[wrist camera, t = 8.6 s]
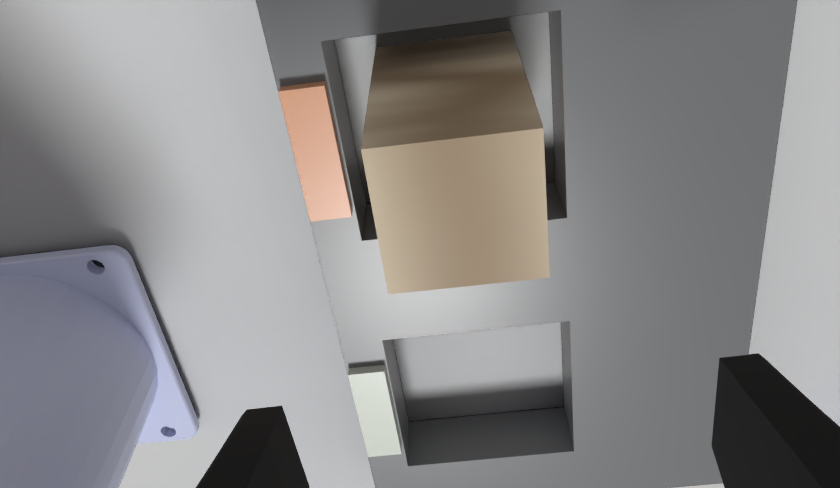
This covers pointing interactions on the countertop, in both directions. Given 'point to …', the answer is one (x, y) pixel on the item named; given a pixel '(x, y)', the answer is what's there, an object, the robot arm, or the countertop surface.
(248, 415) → the robot arm
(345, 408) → the countertop surface
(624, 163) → the dock
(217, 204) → the countertop surface
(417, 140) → the tan rectangular block
